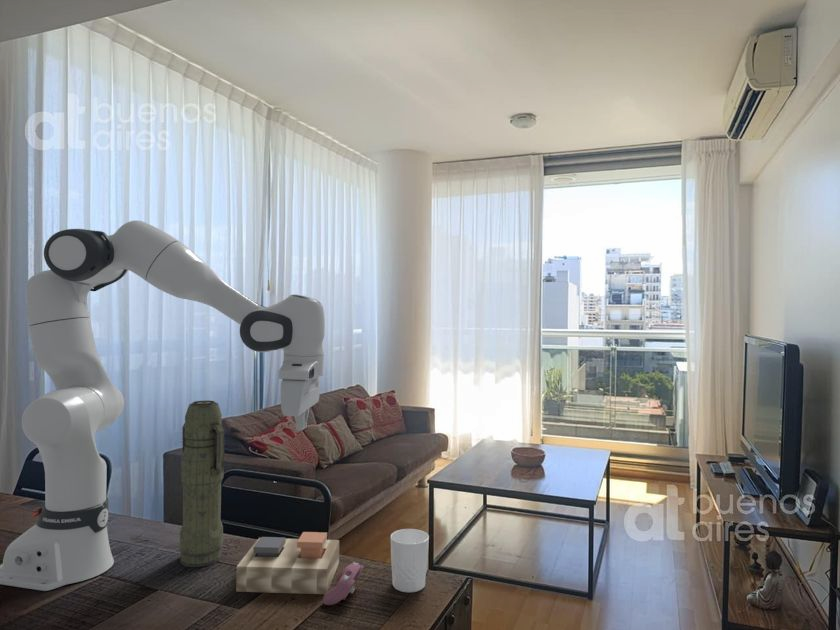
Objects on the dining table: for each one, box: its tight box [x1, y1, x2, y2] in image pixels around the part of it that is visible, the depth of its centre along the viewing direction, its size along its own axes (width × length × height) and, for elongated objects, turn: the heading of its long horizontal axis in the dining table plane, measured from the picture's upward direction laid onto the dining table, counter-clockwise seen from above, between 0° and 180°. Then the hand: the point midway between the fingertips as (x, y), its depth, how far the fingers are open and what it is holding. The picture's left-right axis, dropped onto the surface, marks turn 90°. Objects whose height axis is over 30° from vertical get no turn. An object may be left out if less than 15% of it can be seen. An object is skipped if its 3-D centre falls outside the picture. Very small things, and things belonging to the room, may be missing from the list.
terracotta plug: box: [297, 531, 328, 559], centre depth 117 cm, size 5×5×7 cm
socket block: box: [235, 537, 340, 595], centre depth 117 cm, size 18×14×5 cm
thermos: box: [179, 400, 226, 568], centre depth 125 cm, size 9×12×35 cm
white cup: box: [390, 528, 430, 593], centre depth 114 cm, size 8×8×10 cm
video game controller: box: [322, 561, 364, 606], centre depth 110 cm, size 10×5×7 cm, turn 170°
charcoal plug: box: [253, 536, 286, 557], centre depth 117 cm, size 5×5×7 cm
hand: (301, 429), depth 125 cm, fingers closed
